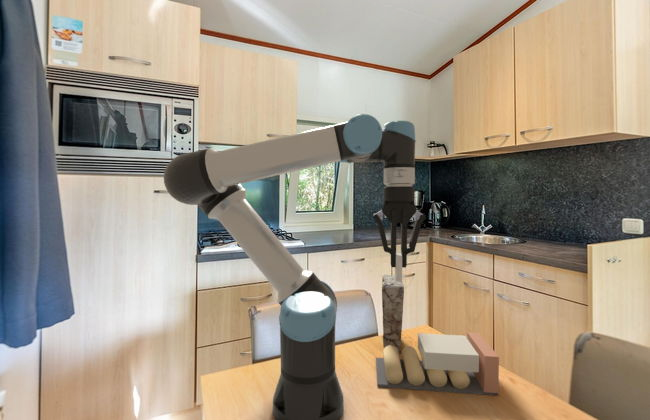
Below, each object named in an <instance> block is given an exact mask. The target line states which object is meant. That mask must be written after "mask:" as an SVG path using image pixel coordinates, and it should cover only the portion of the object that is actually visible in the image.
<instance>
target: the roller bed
mask: <svg viewBox="0 0 650 420" xmlns="http://www.w3.org/2000/svg"><path fill="white" fill-rule="evenodd" d="M382 353H383V357H375V367H376V368H375V369H376V384H377V385H376V386H377V387H379V388H391V389H392V388H394V389H405V390H417V391H418V390H419V391H430V392H432V391H433V392H444V393H445V392H446V393H457V394H458V393H459V394H469V395H470V394H471V395H472V394H473V395H474V394H475V395H484V393H485V395H484V396H497V395H498V396H499V393H498V394H497V393H493V395H492V394H491V393H490V392H484V391H483V389H482V388H481V386H480V384H479V383H478V381H477V379H476V378H475V376H474V374H473V373H472V372H466V371H451V370H436V369H425V368H424V365H423V362H422V359H421V360H420V357H419V355H418V352H417V350H416V348H415V347H414V346H410V345H409V346H405V347H404V348H403V349H402V351H401V356H402V358H400V354H398V350H397V348H396V347H395V346H393V345H388V346H386V347H385V348H384V347H383V352H382ZM487 394H488V395H487Z"/></svg>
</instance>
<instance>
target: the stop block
mask: <svg viewBox="0 0 650 420" xmlns="http://www.w3.org/2000/svg"><path fill="white" fill-rule="evenodd" d="M466 338H467V339H468V341H469V342H470V343H471V345H472V346H473V348H474V349H475V350H476V352H477V353H478V355H479V372H472V373H473V374H474V376H475V378H476V379H477V381H478V383H479V384H480V386H481V388H482V389H483V391H484V392H490V393H491V394H492V395H491V396H494V395H493V393H497V394H498V395H497V396H499V380H500V379H499V377H500V376H499V373H500V371H499V369H500V357H499V355H498V354H497V352H495V350H494V349H493V348H492V346H491V345H490V344H489V343H488V342H487V341H486V339H485V338H484V337H483V335H482V334H481V333H480V332H467V336H466ZM484 396H489V395H488V394H487V395H485V393H484Z"/></svg>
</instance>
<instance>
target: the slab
mask: <svg viewBox="0 0 650 420" xmlns="http://www.w3.org/2000/svg"><path fill="white" fill-rule="evenodd" d="M417 350H418V352H419V356H420V359H421V360H422V362H423V365H424V368H425V369H436V370H451V371H466V372H479V355H478V353H477V352H476V350H475V349H474V348H473V346H472V345H471V343H470V342H469V341H468V339H467V336H466V335H460V334H459V335H458V334H442V333H440V334H439V333H438V334H436V333H424V332H423V333H421V332H418V333H417Z"/></svg>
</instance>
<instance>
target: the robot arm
mask: <svg viewBox="0 0 650 420" xmlns="http://www.w3.org/2000/svg"><path fill="white" fill-rule="evenodd" d="M415 127H416V126H415V125H414V123H413V122H411V121H409V120H395V121H393V120H392V121H389V122H386V123H384V125H383V128H382V126H381V123H380V122H379V121H378V119H377V118H376V117H374V116H373V115H370V114H367V113H360V114H359V113H358V114H356V115H354V116H352V117H351V118H350V119H349V120H347V121H346V122H340V123H337V124H333V125H327V126H325V127H319V128H315V129H310V130H306V131H302V132H297V133H293V134H289V135H284V136H280V137H276V138H272V139H267V140H264V141H263V140H262V141H259V142H254V143H249V144H245V145H241V146H236V147H232V148H228V149H223V150H219V151H218V150H216V149H215V148H213V147H210V148H206V149H202V150H196V151H191V152H186V153H183V154H179V155H177V156H175V157H174V158H172V159H171V160H170V162H169V163H168V164H167V165H166V167H165V169H164V173H163V184H164V187H165V190H166V191H167V192H168V194H169V195H170V196H171V197H172V198H173V199H174V200H175V201H177V202H179V203H181V204H185V205H188V206H189V205H191V206H194V205H195V206H196V205H197V206H198V207H199V208H200V209H201V211H202V212H203V213H204V214H205V216H206V217H207V218H208V219H209V220H210V219H211V220H217V221H219V222H220V224H221V225H222V227H223V228H225V230H226V231H227V232H228V233H229V235H230V236H231V237H232V238H233V239H234V242H235V243H237V245H238V246H239V247H240V248H241V249H242V251H243V252H244V253H245V254H246V255H247V257H248V258H249V259H250V260H251V262H253V264H254V265H255V266H256V267H257V269H258V270H259V271H260V272H261V274H262V275H263V276H264V277H265V279H266V280H267V281H268V282H269V283H270V284H271V286H272V287H273V288H274V290H276V293H277V298H276V299H277V303H278V304H279V305H280V311H279V317H278V322H279V326H280V327H279V333H280V334H279V336H280V337H279V338H280V345H279V346H280V349H279V351H280V374H279V378H278V381H277V385H276V388H275V390H274V393H273V398H272V413H273V414H272V415H273V418H274V419H275V420H340V419H341V418H342V416H343V414H344V408H345V407H344V402H345V401H344V400H345V399H344V393H343V390H342V388H341V385H340V382H339V381H340V380H339V378H338V376H337V372H336V321H337V320H336V319H337V310H338V300H337V297H336V294H335V292H334V290H333V289H332V287H331V286H330V284H328V283H326V281H323V280H320V279H319V277H318V276H317V275H316V274H315V273H314V271H313V270H307V269H303V267H302V266H301V265H300V263H299V262H298V261H297V260H296V259H295V257H293V255H292V253H290V251H289V250H288V249H287V248H286V247H285V245H284V244H283V243H282V241H281V240H280V239H279V238H278V236H276V234H275V233H274V232H273V231H272V229H271V228H270V227H269V226H268V225H267V223H266V222H265V221H264V220H263V219H262V217H261V216H260V215H259V214H258V213H257V211H256V210H255V209H254V208H253V207H252V205H251V204H250V203H249V202H248V200H247V199H246V195H247V191H246V188H244V187H243V185H242V184H245V183H248V182H253V181H258V180H262V179H267V178H271V177H276V176H280V175H286V174H289V173H293V172H298V171H304V170H306V169H311V168H315V167H319V166H324V165H328V164H333V163H336V162H337V163H338V162H339V163H346V164H347V163H348V164H352V163H383V185H385V186H384V187H383V203H382V206H381V208H380V210H379V211H378V212H376V213H374V214H373V215H372V217H373V220H374V221H375V223H376V224H377V227H378V232H379V236H380V240H381V243H382V248H383V252H385V253H388V254H390V266H391V268H394V276H395V280H396V281H398V282H402V283H403V268H407V266H408V264H407V263H408V260H407V259H408V257H407V256H408V255H409V254H411V253H415V250H416V246H417V243H418V239H419V234H420V231H421V227H422V225H423V222H424V221H425V220H426V217H427V216H426V214H424V213H422V212H420V210H419V211H418V210H417V209H418V208H417V206H416V203H415V201H416V199H415V198H416V197H415V195H416V194H415V193H416V191H415V190H416V189H415V187H414V186H413V185H415V183H416V182H415V181H416V174H415V171H416V169H415V165H416V162H415V161H416V160H415V159H416V143H417V142H416V141H417V140H416V130H415V129H416V128H415ZM383 216H385V218H386V219H387V221H388V222H389V223H390V246H389V244H388V241H387V237H386V233H385V228H384V224H383V220H384V217H383ZM413 217H414V219H415V220H414V225H413V229H412V232H411V234H410V235H411V236H410V239H409V243H408V223H409V222H410V220H411V219H412V218H413ZM397 224H400V253H399V252H398V253H397V226H398V225H397Z"/></svg>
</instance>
